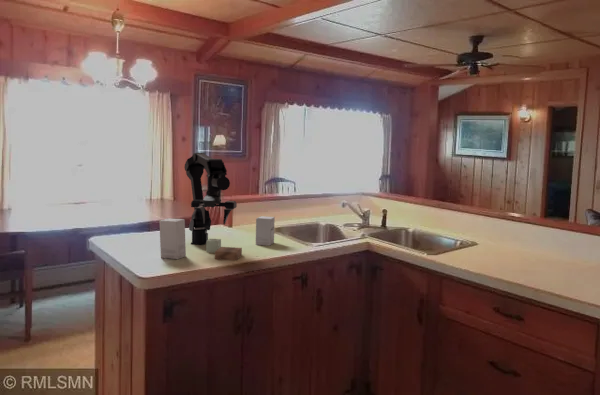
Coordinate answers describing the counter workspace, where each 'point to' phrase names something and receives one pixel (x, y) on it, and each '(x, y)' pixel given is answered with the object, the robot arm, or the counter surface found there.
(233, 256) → the walnut block
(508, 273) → the counter surface
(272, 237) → the supplement box
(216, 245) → the sage cube
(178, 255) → the skincare box
